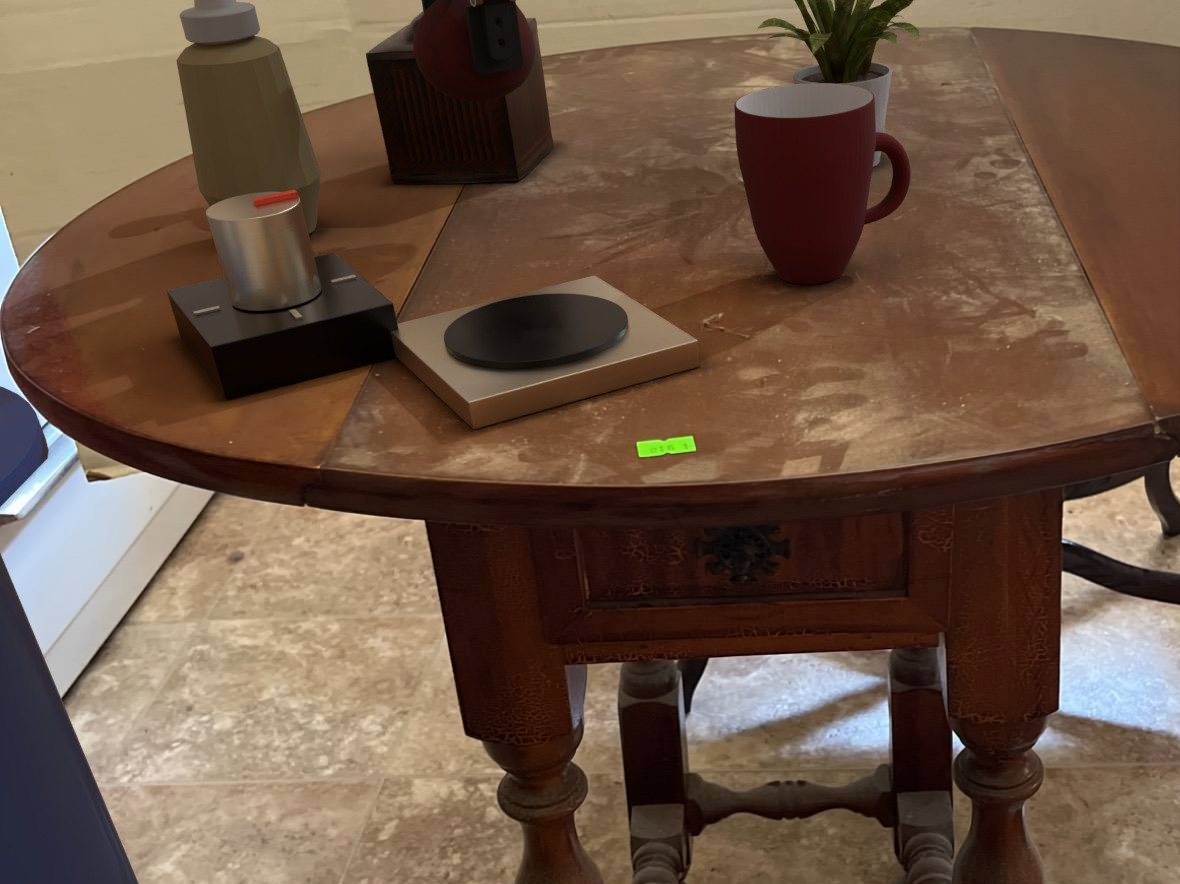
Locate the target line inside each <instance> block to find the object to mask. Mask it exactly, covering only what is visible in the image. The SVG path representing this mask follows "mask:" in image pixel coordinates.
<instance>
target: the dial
mask: <svg viewBox="0 0 1180 884" xmlns="http://www.w3.org/2000/svg"><path fill="white" fill-rule="evenodd" d="M205 216H206V218H207V222H208V225H209V228H210V233H211V236H212V239H213V244H214V247H215V251H216V254H217V259H218V261H219V265H220V268H221V273H222V276H223V277H224V279H225V283H226V287H227V290H228V294H229V297H230V301H231V303H232V305H233V306H234V307H236V308H238V309H242V310H247V311H271V310H278V309H284V308H289V307H292V306H296V305H299V304H302V303H305V302H307V301H309V300H311V299H313V298H314V297H316V296H317V295H318V294H319V293H320V292H321V284H320V279H319V275H318V271H317V267H316V263H315V259H314V257H315V254H314V251H313V246H312V243H311V238H310V234H308V230H307V226H306V221H305V217H304V213H303V209H302V205H301V201H300V198H299V197H298V192H297V191H296V190H290V191H285V192H259V193H251V194H245V195H240V196H236V197H232V198H228V199H225V200H223V201H220V202H218V203H216V204H214V205H212V206H210V207H209V206H208V208H207V209H206V210H205Z"/></svg>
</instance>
